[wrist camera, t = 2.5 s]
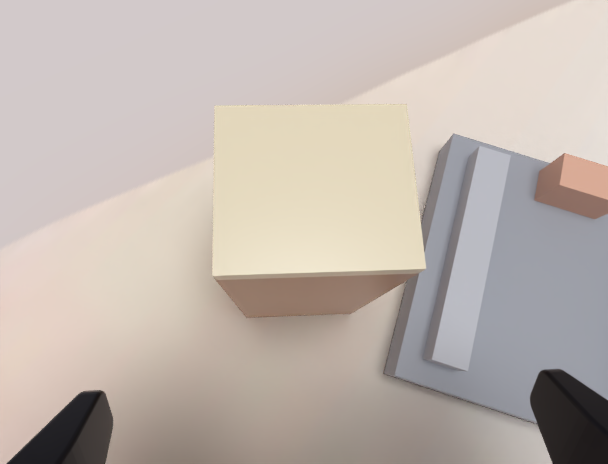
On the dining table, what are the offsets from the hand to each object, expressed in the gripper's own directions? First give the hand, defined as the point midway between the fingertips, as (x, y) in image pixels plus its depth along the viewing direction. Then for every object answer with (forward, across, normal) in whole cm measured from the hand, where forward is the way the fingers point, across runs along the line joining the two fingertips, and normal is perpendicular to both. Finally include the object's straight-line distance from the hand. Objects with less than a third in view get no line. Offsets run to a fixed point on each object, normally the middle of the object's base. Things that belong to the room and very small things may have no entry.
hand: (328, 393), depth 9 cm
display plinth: (+11, -12, +6) cm, 17 cm away
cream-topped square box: (+12, 0, +5) cm, 13 cm away
